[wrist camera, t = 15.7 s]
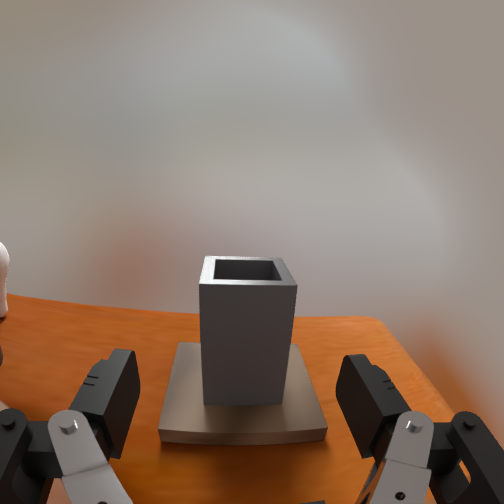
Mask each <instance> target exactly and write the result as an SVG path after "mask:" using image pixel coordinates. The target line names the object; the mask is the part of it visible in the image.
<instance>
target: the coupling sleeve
mask: <svg viewBox="0 0 504 504" xmlns="http://www.w3.org/2000/svg"><path fill="white" fill-rule="evenodd" d="M296 294H297V284H296V282H295V280H294V279H293V277H292V276H291V274H290V272H289V270H288V269H287V267H286V265H285V263H284V262H283V260H282V258H266V257H227V256H225V257H224V256H206V257H205V261H204V265H203V269H202V274H201V278H200V282H199V301H200V302H199V303H200V304H199V305H200V342H201V367H202V387H203V404H204V405H274V404H282V402H283V395H284V388H285V381H286V374H287V367H288V360H289V352H290V345H291V337H292V329H293V320H294V312H295V303H296Z"/></svg>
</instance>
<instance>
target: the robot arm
mask: <svg viewBox="0 0 504 504" xmlns="http://www.w3.org/2000/svg"><path fill="white" fill-rule="evenodd" d="M139 395H140V379H139V373H138V367H137V361H136V355H135V352H134V351H133V350H124V349H114V350H113V352H112V354H111V355H110V357H109V359H108V360H100V361H99V362H98V363H96V364H95V365H94V366H92V368H91V370H90V372H89V373H88V375H87V377H86V378H85V380H84V382H83V384H82V386H81V387H80V389H79V391H78V393H77V395H76V396H75V398H74V400H73V402H72V404H71V406H70V407H69V409H68V410H63V411H60V412H58V413H56V414H54V415H53V416H52V417H51V418H50V420H49V421H28V420H27V418H26V416H25V415H24V413H23V412H21V411H20V410H18V409H13V408H10V409H5V410H2V411H0V504H46V503H47V500H48V496H49V493H50V489H51V487H52V484H53V480H54V478H62V481H63V483H64V486H65V488H66V491H67V493H68V496H69V498H70V500H71V502H72V504H133V503H132V501H131V500H130V498H129V497H128V495H127V493H126V492H125V490H124V489H123V487H122V485H121V484H120V482H119V480H118V479H117V477H116V475H115V473H114V472H113V470H112V468H111V466H110V465H109V463H108V462H109V459H110V457H111V458H116V459H120V457H121V454H122V450H123V447H124V443H125V440H126V437H127V434H128V430H129V427H130V424H131V421H132V417H133V414H134V411H135V408H136V405H137V402H138V399H139ZM336 398H337V401H338V403H339V405H340V408H341V410H342V412H343V414H344V417H345V419H346V421H347V424H348V426H349V428H350V431H351V433H352V435H353V438H354V440H355V442H356V445H357V447H358V449H359V452H360V454H361V457H362V459H363V458H368V457H374V459H375V462H374V464H373V466H372V468H371V470H370V473H369V475H368V477H367V479H366V482H365V484H364V486H363V488H362V490H361V492H360V495H359V497H358V499H357V501H356V502H355V504H424V501H425V497H426V493H427V489H428V485H429V487H430V489H431V492H432V494H433V496H434V498H435V500H436V503H437V504H504V450H503V449H502V448H501V446H500V445H499V443H498V442H497V440H496V439H495V438H494V436H493V435H492V434H491V432H490V431H489V429H488V428H487V427H486V425H485V424H484V423H483V421H482V420H481V419H480V417H478V416H477V415H476V414H473V413H471V412H467V411H465V412H464V411H463V412H459V413H457V414H456V415H455V416H454V417H453V419H452V421H451V422H446V423H433V422H432V420H431V419H430V418H429V417H428V416H427V415H425V414H423V413H421V412H417V411H412V410H411V409H410V407H409V406H408V404H407V403H406V401H405V400H404V398H403V397H402V395H401V394H400V393H399V391H398V390H397V388H395V385H394V384H393V382H391V379H390V378H389V376H388V375H387V374H386V372H385V371H384V370H382V369H381V368H379V367H378V366H377V365H372V364H371V363H370V361H369V360H368V358H367V357H366V356H365V355H364V354H356V355H346V356H345V357H344V358H343V362H342V365H341V369H340V373H339V377H338V380H337V384H336ZM461 460H462V461H463V463H464V465H465V466H466V468H467V470H468V472H469V473H470V476H471V482H470V484H469V482H468V480H467V478H466V476H465V475H464V473H463V471H462V469H461V467H460V466H459V463H460V462H461ZM301 504H325V501H324V500H323V501H316V502H309V503H301Z"/></svg>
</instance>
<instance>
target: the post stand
mask: <svg viewBox="0 0 504 504" xmlns="http://www.w3.org/2000/svg"><path fill="white" fill-rule="evenodd" d="M327 429H328V426H327V423H326V421H325V418H324V415H323V413H322V410H321V407H320V404H319V402H318V399H317V396H316V393H315V391H314V388H313V385H312V383H311V380H310V377H309V375H308V372H307V369H306V366H305V364H304V361H303V358H302V356H301V353H300V350H299V348H298V345H297V344H291V345H290V352H289V360H288V367H287V374H286V381H285V388H284V395H283V402H282V404H274V405H204V404H203V387H202V367H201V343H190V342H179V344H178V348H177V351H176V355H175V359H174V363H173V367H172V371H171V375H170V379H169V383H168V387H167V391H166V396H165V400H164V404H163V408H162V413H161V417H160V421H159V426H158V431H159V436H160V440H161V441H164V442H174V443H186V444H203V445H270V444H287V443H299V442H309V441H318V440H324V438H325V435H326V432H327Z"/></svg>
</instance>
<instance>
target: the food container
mask: <svg viewBox="0 0 504 504" xmlns="http://www.w3.org/2000/svg"><path fill="white" fill-rule="evenodd" d="M2 360H3V354H2V351H1V347H0V366H1V364H2Z"/></svg>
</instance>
